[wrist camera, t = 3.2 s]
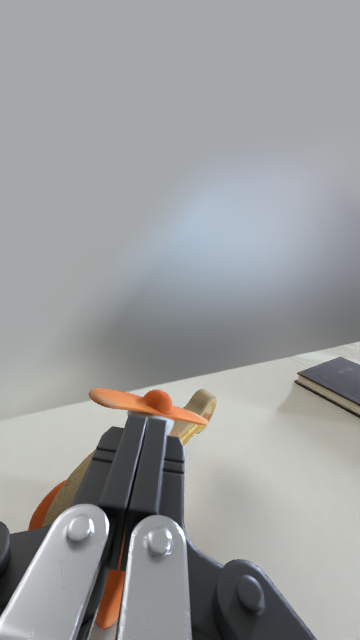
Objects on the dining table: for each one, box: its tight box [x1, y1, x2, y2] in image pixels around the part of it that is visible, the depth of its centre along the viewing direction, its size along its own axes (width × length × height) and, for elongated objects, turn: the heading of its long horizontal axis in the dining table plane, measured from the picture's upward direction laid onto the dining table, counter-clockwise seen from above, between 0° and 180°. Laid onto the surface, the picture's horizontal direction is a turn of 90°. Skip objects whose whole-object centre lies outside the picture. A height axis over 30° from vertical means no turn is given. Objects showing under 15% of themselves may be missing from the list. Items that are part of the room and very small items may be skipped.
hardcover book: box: [294, 357, 360, 417], centre depth 56 cm, size 16×23×2 cm
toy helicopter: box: [28, 388, 216, 629], centre depth 23 cm, size 8×21×14 cm, turn 147°
